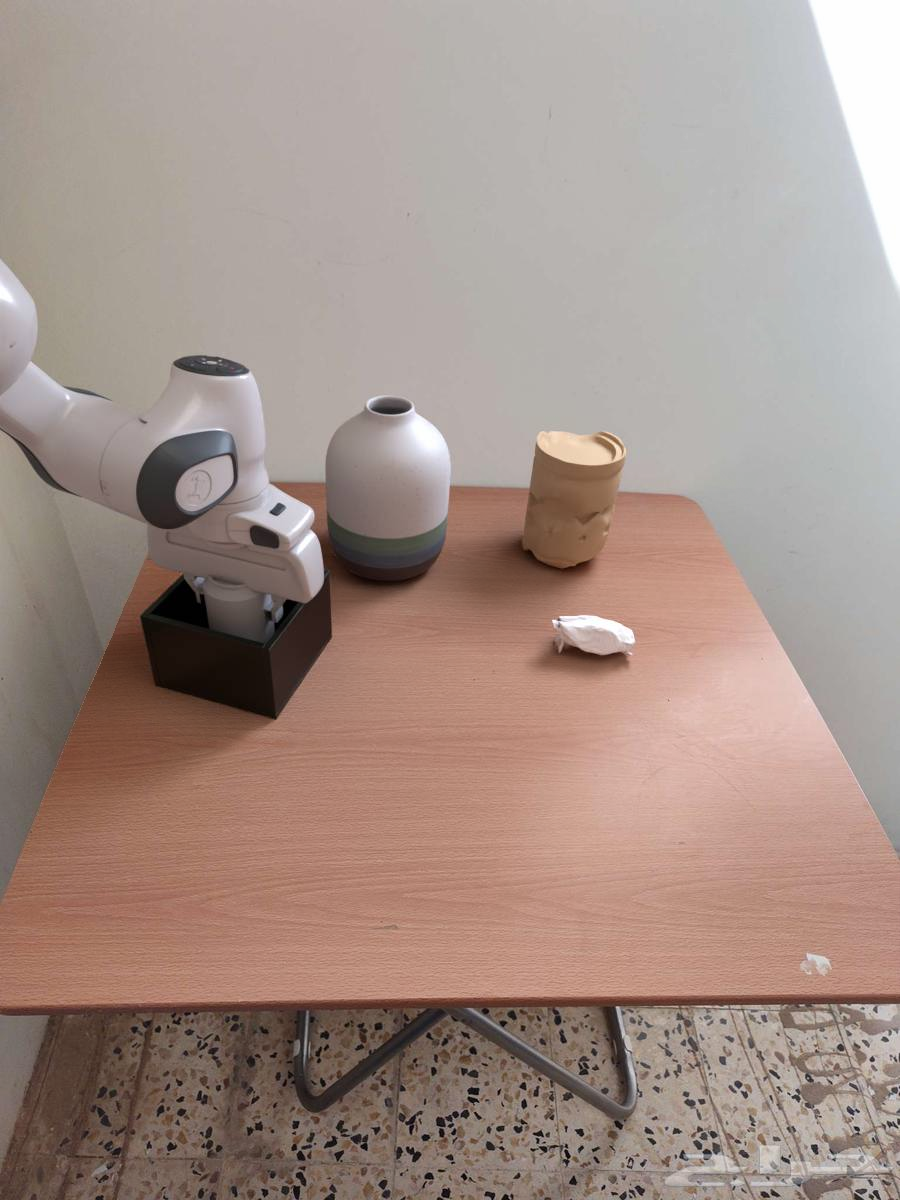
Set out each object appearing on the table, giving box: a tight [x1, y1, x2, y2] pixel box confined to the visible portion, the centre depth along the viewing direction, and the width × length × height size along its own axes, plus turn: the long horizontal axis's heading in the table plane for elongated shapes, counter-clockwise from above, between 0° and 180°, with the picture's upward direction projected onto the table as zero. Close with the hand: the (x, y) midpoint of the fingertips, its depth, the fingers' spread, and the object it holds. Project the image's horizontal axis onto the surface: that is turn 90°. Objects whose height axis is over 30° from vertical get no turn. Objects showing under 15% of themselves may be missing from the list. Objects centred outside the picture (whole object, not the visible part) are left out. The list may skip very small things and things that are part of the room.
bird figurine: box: [551, 614, 636, 657], centre depth 103 cm, size 5×7×10 cm
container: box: [521, 430, 627, 569], centre depth 117 cm, size 13×13×18 cm
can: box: [203, 575, 275, 644], centre depth 94 cm, size 8×8×12 cm
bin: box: [139, 568, 333, 720], centre depth 95 cm, size 16×16×10 cm
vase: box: [324, 394, 452, 582], centre depth 110 cm, size 17×17×24 cm
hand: (240, 610), depth 94 cm, fingers closed on can, 7 cm apart
